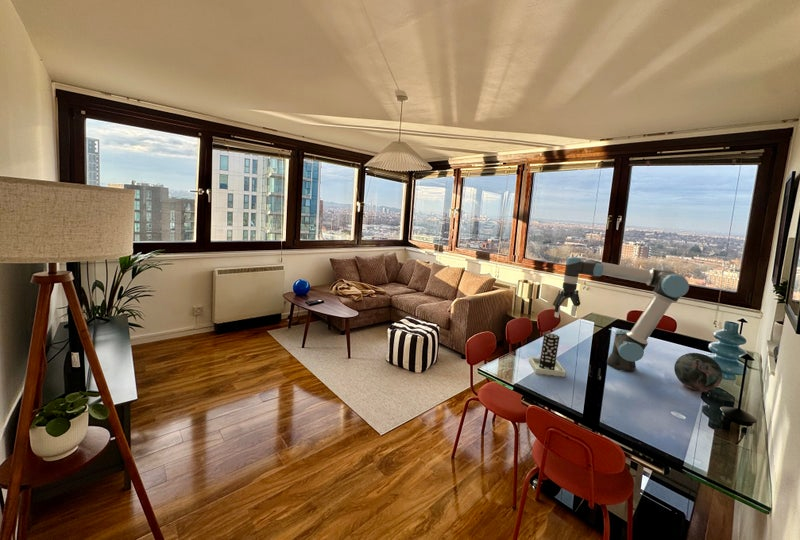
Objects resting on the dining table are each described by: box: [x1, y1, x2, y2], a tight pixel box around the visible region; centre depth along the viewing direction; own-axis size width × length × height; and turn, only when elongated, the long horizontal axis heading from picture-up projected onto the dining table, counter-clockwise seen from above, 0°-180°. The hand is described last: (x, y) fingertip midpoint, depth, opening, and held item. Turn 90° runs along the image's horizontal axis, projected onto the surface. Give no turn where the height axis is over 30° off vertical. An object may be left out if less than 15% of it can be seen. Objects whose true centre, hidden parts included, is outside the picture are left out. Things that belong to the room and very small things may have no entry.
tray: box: [528, 356, 567, 378], centre depth 203 cm, size 16×16×3 cm
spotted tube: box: [539, 332, 560, 370], centre depth 202 cm, size 8×8×20 cm
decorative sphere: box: [673, 352, 723, 392], centre depth 191 cm, size 20×20×20 cm
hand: (564, 316), depth 212 cm, fingers open, 13 cm apart
